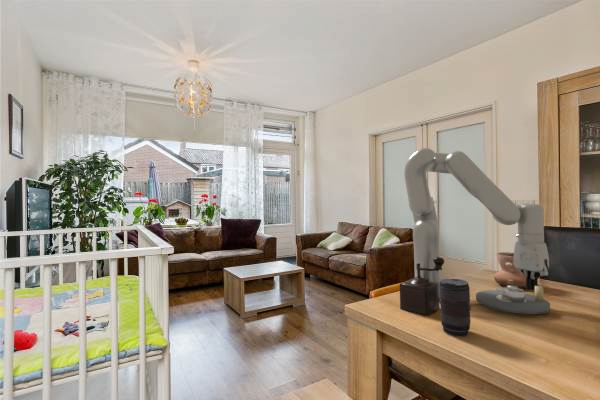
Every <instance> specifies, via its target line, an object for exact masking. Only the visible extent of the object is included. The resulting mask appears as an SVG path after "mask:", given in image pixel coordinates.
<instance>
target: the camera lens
mask: <svg viewBox="0 0 600 400" xmlns="http://www.w3.org/2000/svg"><path fill="white" fill-rule="evenodd" d="M470 289H471V288H470V285H469V281H467V280H464V279H459V278H443V279H442V278H441V279H440V285H439V293H440V300H439V304H440V321H441V326H442V330H443V332H444V334H445V333H446V334H447V335H450V336H453V337H459V338H460V337H461V338H462V337H467V336H468V335H469V330H470V329H471V309H472V308H471V304H470V300H471V294H470V291H471V290H470Z"/></svg>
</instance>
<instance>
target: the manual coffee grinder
mask: <svg viewBox="0 0 600 400" xmlns="http://www.w3.org/2000/svg"><path fill="white" fill-rule="evenodd" d="M433 262H434V263H435V267H434V269H427V268H420V263H417V264H416V265H417V267H416V269H417V277H416V278H415V277H413V278H411V279H408V280H405V281H403V282H400V283H399V302H400V303H399V304H400V305H399V308H400V310H403V311H406V312H410V313H414V314H418V315H422V316H427V317H428V316H430V315H432V314H434V313H436V312H437V311H438V310H439V309H441V305H440V300H439V283H437V282H431V281H429V279H425V278H422V277H421V276H420V270H426V271H439V270H440V271H443V267H442V266H443V265H444V264H445V259H444V258H442V257H440V256H439V257H436V258H434V260H433Z"/></svg>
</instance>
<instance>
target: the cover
mask: <svg viewBox="0 0 600 400" xmlns="http://www.w3.org/2000/svg"><path fill="white" fill-rule="evenodd" d="M500 290H501V299H503V300H505V301H509V302H515V303H522V302H525V293H526V292H525V290H524V289H523V288H518V286H514V285H507V287H506V286H503V287H500Z"/></svg>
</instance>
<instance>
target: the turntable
mask: <svg viewBox="0 0 600 400" xmlns="http://www.w3.org/2000/svg"><path fill="white" fill-rule="evenodd" d="M475 300H476V302H477V303H479V304H480V305H481V306H482V305H483V306H484V307H488V308H490V309H494V310H497V311H502V312H507V313H514V314H523V315H524V314H525V315H538V314H539V315H540V314H546V313H548V312H550V311H551V303H550V302H549V301H548V300H546V299H545V298H544V286H543V285H538V286H535V290H534V294H530V293H526V292H525V302H522V303H515V302H509V301H505V300H503V299H501V289H489V290H487V289H486V290H481V291H477V292H476V293H475Z"/></svg>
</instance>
